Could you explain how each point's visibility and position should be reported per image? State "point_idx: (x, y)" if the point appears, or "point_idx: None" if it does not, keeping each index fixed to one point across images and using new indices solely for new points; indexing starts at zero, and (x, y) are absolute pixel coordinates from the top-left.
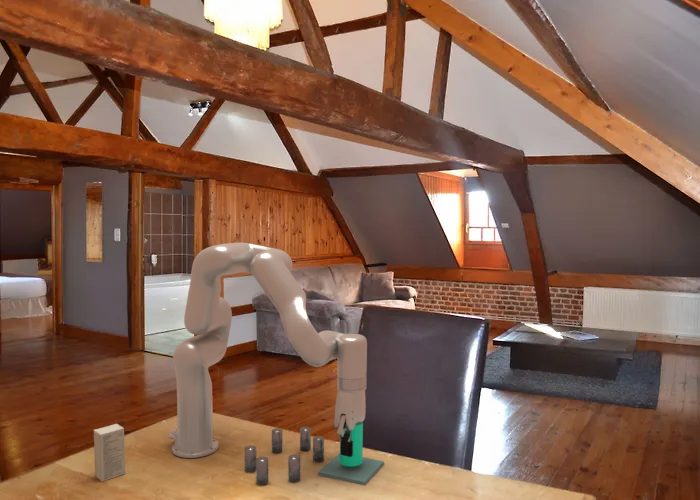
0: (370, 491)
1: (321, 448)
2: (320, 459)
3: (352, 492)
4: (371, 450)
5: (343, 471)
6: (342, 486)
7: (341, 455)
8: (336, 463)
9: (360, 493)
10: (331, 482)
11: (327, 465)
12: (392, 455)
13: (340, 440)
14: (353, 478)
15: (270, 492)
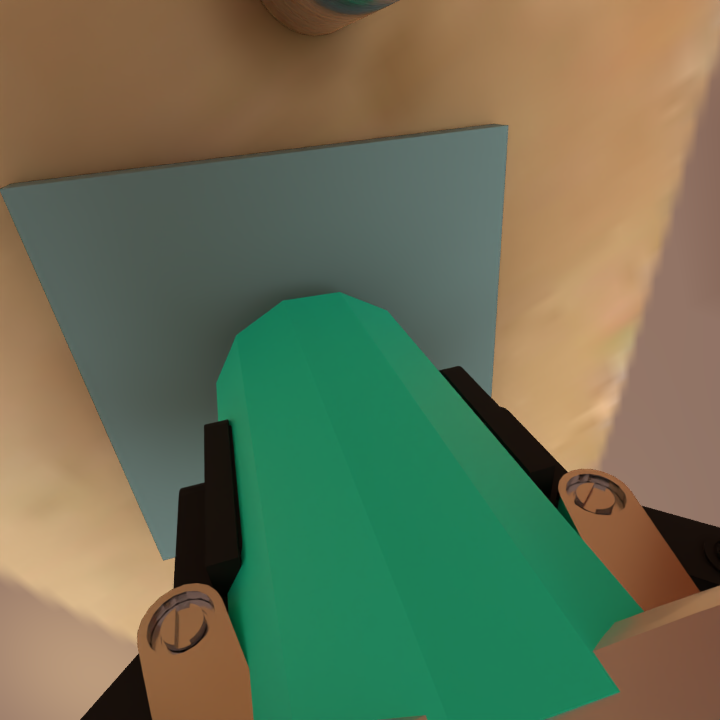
0: (122, 599)
1: (319, 2)
2: (280, 16)
3: (17, 554)
4: (643, 288)
5: (197, 375)
6: (29, 466)
7: (231, 400)
8: (293, 236)
9: (51, 586)
10: (7, 372)
11: (203, 185)
12: (602, 423)
13: (256, 497)
14: (151, 490)
15: None
